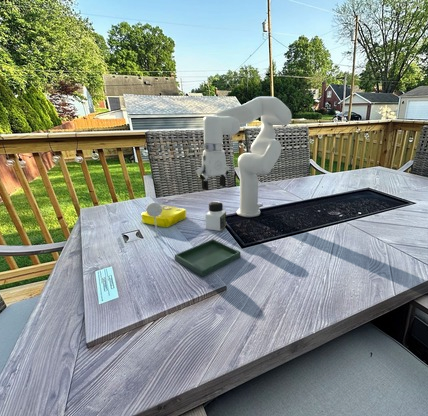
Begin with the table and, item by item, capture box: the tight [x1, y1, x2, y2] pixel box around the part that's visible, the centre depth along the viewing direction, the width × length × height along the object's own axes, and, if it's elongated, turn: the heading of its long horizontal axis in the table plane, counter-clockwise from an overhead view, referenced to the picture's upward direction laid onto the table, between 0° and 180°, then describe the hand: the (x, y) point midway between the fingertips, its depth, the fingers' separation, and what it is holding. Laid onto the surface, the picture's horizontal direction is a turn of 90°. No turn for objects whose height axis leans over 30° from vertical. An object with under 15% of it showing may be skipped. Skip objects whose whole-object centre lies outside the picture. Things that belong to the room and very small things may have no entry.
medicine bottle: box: [204, 200, 227, 232], centre depth 118 cm, size 7×7×12 cm
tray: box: [174, 238, 242, 278], centre depth 94 cm, size 17×15×2 cm
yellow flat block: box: [141, 204, 187, 228], centre depth 124 cm, size 15×15×5 cm
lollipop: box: [145, 201, 162, 238], centre depth 105 cm, size 6×6×15 cm
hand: (214, 187), depth 113 cm, fingers open, 9 cm apart
